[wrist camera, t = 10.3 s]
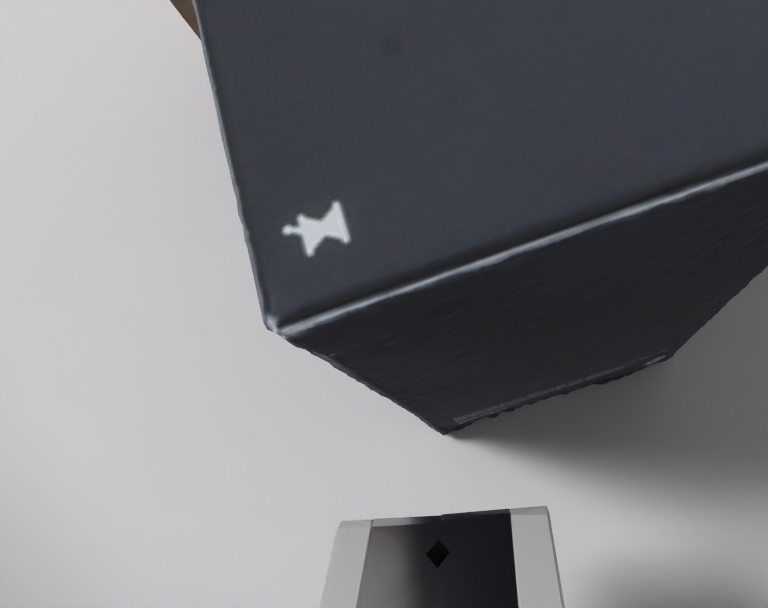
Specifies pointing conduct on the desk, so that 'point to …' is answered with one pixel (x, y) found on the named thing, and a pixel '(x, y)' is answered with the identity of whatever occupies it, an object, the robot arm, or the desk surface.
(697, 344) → the desk surface
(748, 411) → the desk surface
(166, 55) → the desk surface
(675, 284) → the small box
